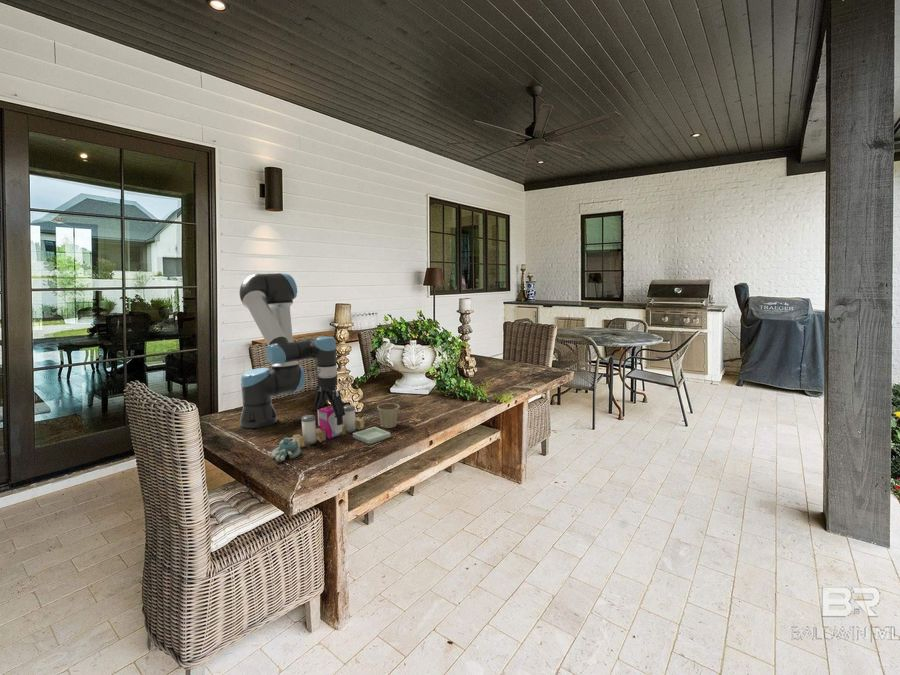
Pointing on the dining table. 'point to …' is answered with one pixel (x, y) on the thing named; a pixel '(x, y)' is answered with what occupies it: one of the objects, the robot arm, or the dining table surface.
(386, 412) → the flower pot
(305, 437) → the cylinder
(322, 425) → the supplement box
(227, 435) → the dining table surface
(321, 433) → the clip rail
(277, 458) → the stuffed animal
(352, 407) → the grey capped shaker
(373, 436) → the tray
